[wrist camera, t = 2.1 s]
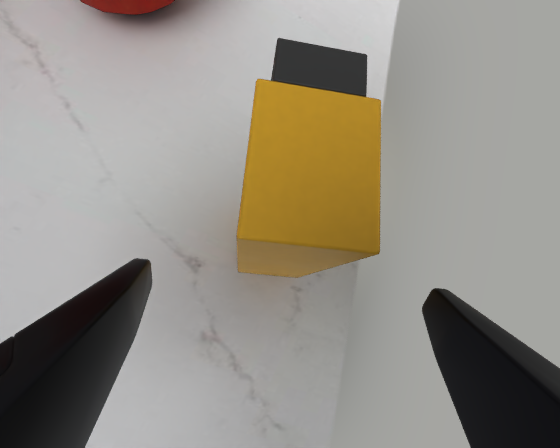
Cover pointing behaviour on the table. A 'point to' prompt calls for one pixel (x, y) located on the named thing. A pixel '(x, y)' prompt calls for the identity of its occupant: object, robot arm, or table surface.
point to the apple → (128, 5)
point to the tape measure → (311, 165)
